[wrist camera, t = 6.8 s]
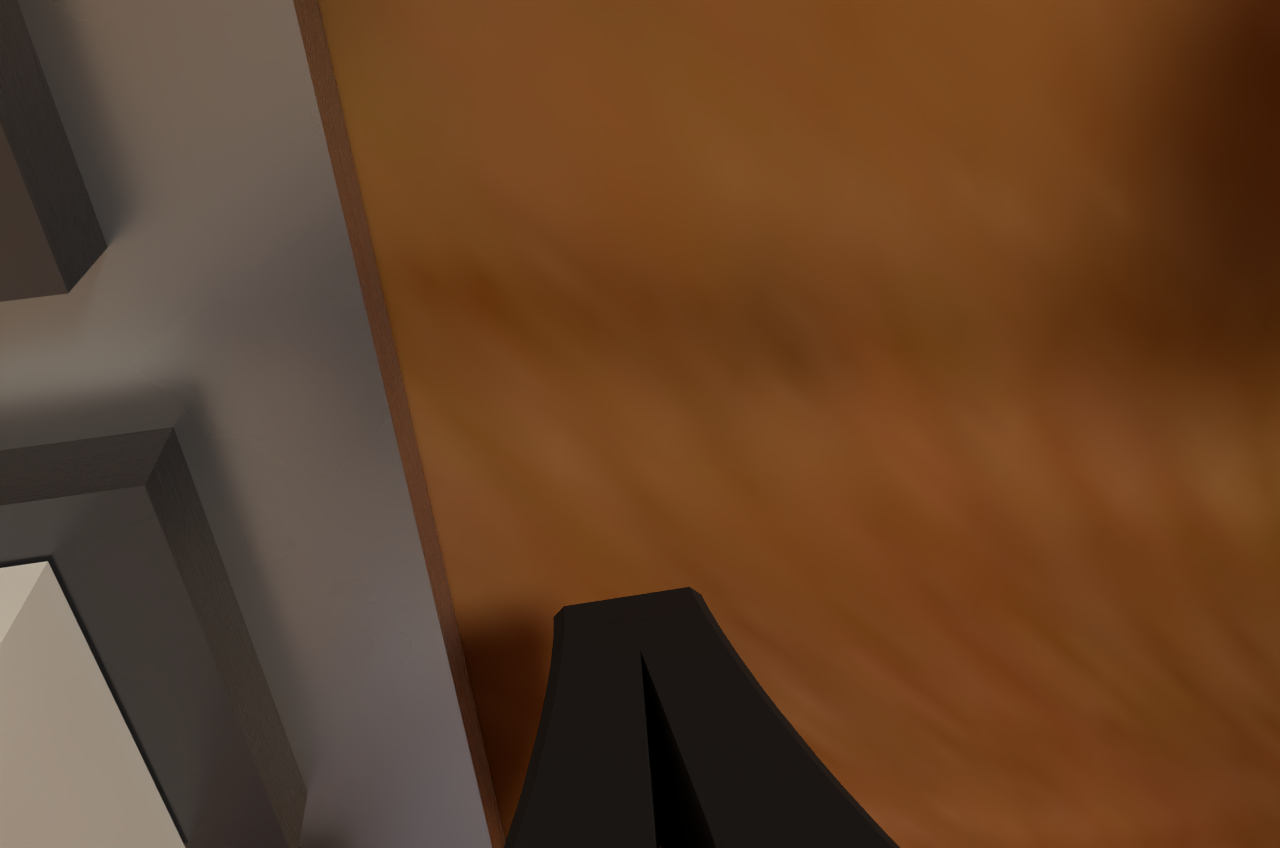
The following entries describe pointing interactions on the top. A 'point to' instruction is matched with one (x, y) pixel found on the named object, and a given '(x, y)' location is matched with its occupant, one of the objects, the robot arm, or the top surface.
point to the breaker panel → (224, 427)
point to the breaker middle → (65, 733)
